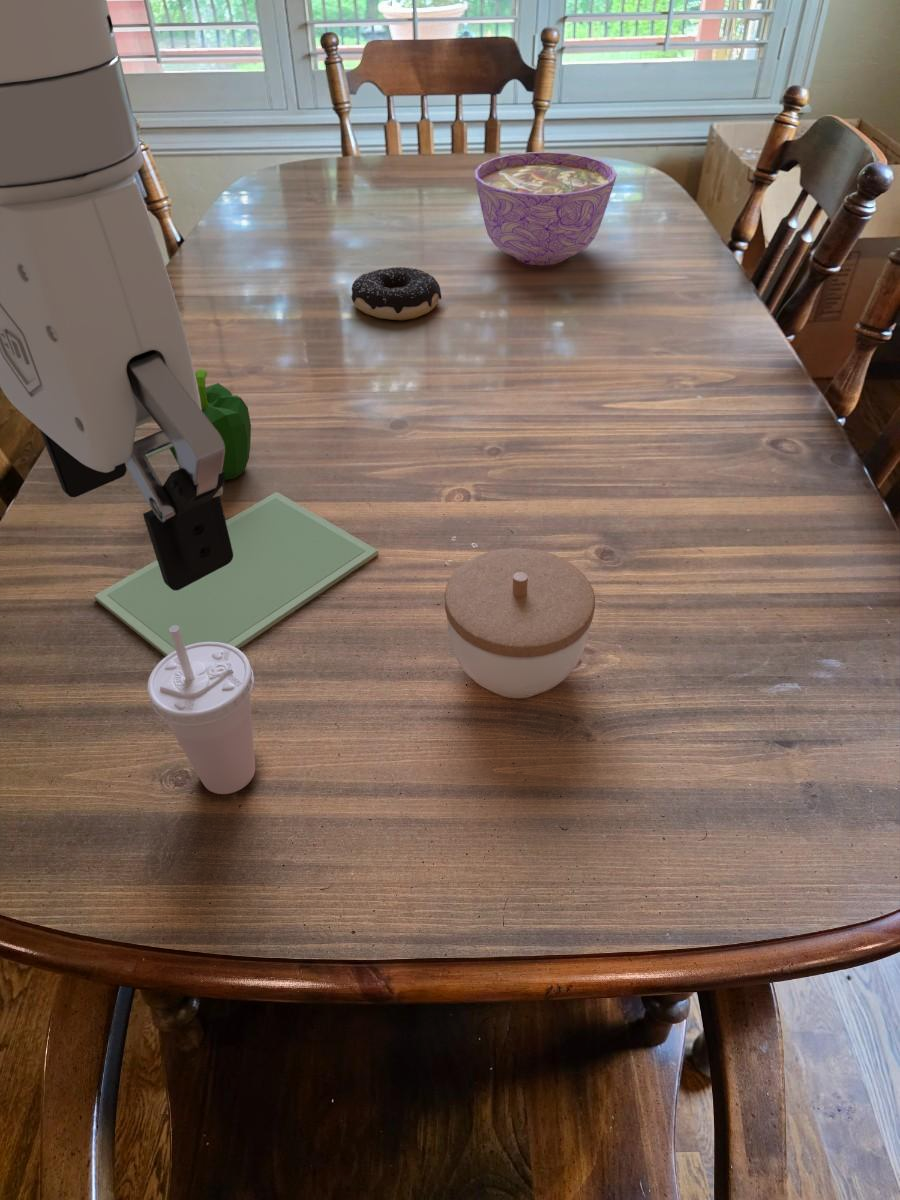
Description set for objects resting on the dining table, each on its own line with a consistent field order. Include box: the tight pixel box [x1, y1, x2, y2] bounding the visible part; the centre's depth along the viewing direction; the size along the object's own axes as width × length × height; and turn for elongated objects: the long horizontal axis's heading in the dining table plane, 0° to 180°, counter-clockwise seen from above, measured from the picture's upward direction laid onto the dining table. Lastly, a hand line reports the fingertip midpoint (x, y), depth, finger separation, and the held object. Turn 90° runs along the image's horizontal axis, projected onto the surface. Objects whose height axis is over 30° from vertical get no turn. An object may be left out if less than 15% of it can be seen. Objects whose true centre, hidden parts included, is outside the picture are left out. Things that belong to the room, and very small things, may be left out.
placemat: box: [93, 491, 379, 657], centre depth 75 cm, size 20×14×1 cm
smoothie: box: [146, 625, 256, 795], centre depth 55 cm, size 6×6×14 cm
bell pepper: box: [169, 368, 252, 481], centre depth 85 cm, size 8×8×10 cm
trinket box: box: [444, 547, 596, 699], centre depth 64 cm, size 11×11×9 cm
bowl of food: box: [474, 151, 618, 266], centre depth 126 cm, size 20×20×12 cm
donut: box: [350, 266, 442, 321], centre depth 116 cm, size 11×12×4 cm
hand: (145, 526), depth 41 cm, fingers open, 9 cm apart
